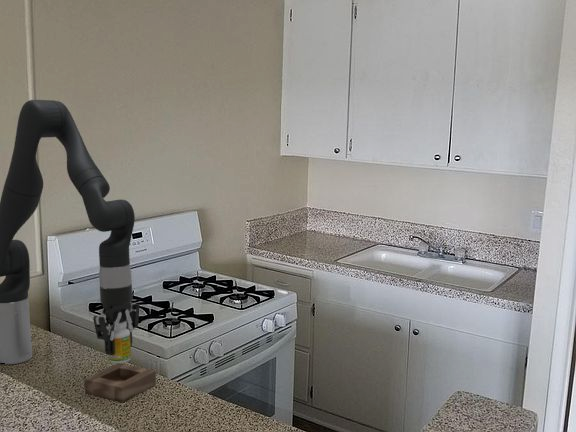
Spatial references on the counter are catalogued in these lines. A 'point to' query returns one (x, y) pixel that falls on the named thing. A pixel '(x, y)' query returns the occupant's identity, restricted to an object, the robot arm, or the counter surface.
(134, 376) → the socket block
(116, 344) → the supplement bottle
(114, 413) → the counter surface
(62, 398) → the counter surface
